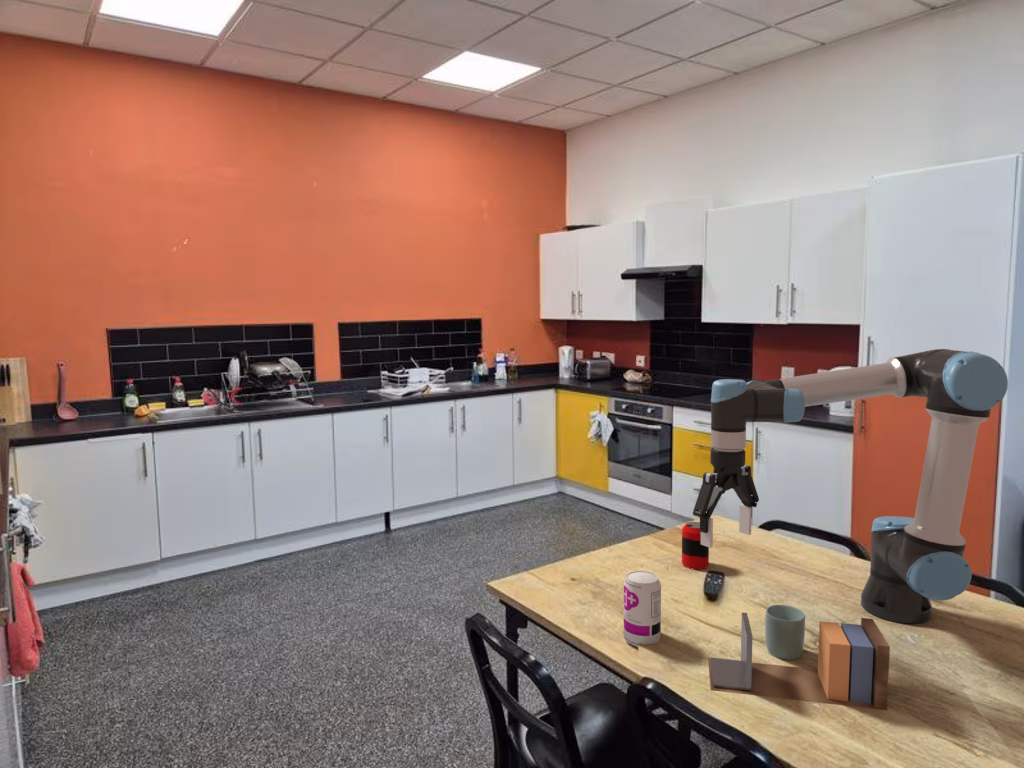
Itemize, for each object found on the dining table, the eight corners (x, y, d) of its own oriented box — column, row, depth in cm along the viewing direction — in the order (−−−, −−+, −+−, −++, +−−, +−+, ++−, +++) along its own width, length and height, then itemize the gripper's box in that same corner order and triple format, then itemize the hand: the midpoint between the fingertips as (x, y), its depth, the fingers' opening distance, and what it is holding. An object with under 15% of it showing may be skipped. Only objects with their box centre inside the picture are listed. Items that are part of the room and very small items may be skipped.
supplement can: (633, 652, 145) (633, 586, 143) (617, 634, 153) (617, 572, 151) (667, 646, 147) (667, 581, 145) (649, 629, 155) (650, 567, 153)
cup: (771, 644, 147) (772, 601, 146) (808, 655, 142) (809, 611, 141) (759, 658, 141) (760, 614, 140) (797, 670, 136) (799, 624, 135)
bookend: (745, 663, 137) (746, 612, 136) (751, 690, 127) (752, 636, 126) (710, 659, 138) (711, 609, 137) (713, 686, 129) (714, 632, 128)
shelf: (868, 680, 132) (871, 617, 131) (887, 716, 121) (890, 647, 119) (707, 663, 140) (708, 603, 138) (710, 695, 128) (711, 630, 127)
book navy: (857, 677, 131) (860, 624, 130) (870, 703, 123) (873, 647, 121) (838, 675, 132) (840, 623, 131) (850, 701, 123) (852, 645, 122)
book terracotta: (836, 675, 132) (838, 622, 131) (848, 701, 124) (850, 645, 122) (817, 673, 133) (819, 621, 132) (827, 698, 124) (829, 643, 123)
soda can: (676, 561, 195) (677, 522, 194) (698, 558, 198) (699, 519, 196) (690, 571, 188) (691, 530, 187) (713, 567, 191) (714, 527, 189)
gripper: (748, 438, 159) (746, 524, 161) (676, 453, 145) (676, 546, 147) (776, 443, 153) (773, 532, 155) (704, 459, 139) (702, 556, 141)
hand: (726, 539), depth 151 cm, fingers open, 13 cm apart
